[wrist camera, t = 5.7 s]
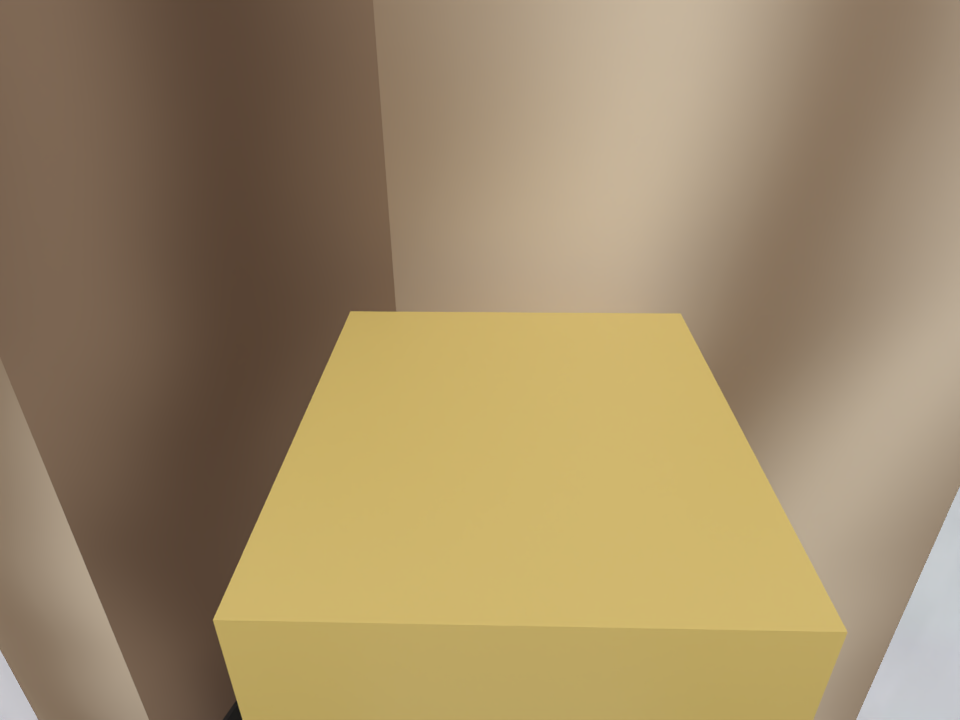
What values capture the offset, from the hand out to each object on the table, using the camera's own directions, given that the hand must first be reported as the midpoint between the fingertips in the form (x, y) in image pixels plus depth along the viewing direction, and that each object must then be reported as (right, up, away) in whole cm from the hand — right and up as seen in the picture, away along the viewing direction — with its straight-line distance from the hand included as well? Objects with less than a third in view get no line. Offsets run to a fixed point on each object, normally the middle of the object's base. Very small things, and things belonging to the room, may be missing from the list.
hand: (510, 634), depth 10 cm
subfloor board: (-2, +2, +3) cm, 4 cm away
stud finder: (0, +1, +1) cm, 2 cm away
